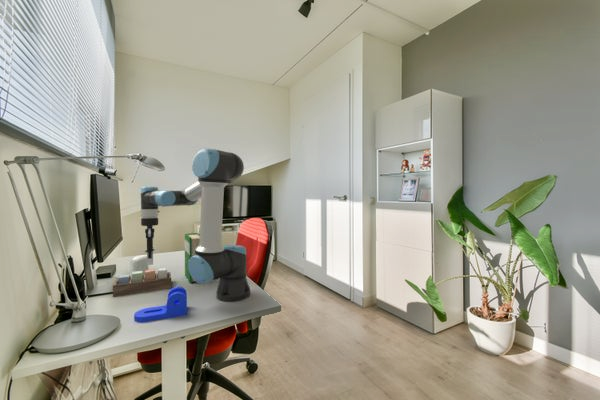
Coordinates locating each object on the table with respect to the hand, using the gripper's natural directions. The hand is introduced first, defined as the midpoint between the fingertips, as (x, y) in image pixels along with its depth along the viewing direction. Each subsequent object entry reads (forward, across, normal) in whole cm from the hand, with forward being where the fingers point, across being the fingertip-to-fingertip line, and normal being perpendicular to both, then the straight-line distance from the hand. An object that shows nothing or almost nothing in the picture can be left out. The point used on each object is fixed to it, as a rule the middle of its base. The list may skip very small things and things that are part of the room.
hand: (150, 264), depth 133 cm
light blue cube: (+8, 0, +11) cm, 14 cm away
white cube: (+7, 0, -6) cm, 9 cm away
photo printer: (+12, +21, +6) cm, 25 cm away
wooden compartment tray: (+12, 0, +3) cm, 12 cm away
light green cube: (+7, 0, +5) cm, 9 cm away
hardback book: (+12, +6, -21) cm, 25 cm away
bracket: (+12, -37, -5) cm, 39 cm away
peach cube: (+7, 0, 0) cm, 7 cm away
